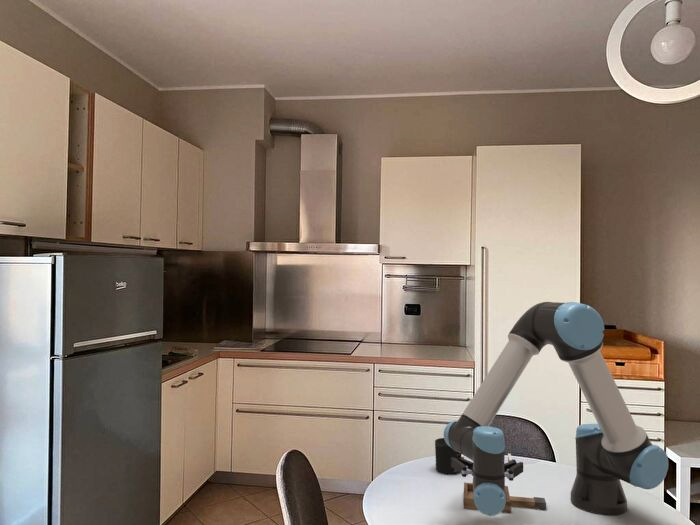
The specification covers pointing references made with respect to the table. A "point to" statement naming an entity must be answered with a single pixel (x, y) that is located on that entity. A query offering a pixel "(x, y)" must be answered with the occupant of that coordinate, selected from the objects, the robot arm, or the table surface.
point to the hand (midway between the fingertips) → (485, 456)
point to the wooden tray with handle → (510, 500)
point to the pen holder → (444, 457)
